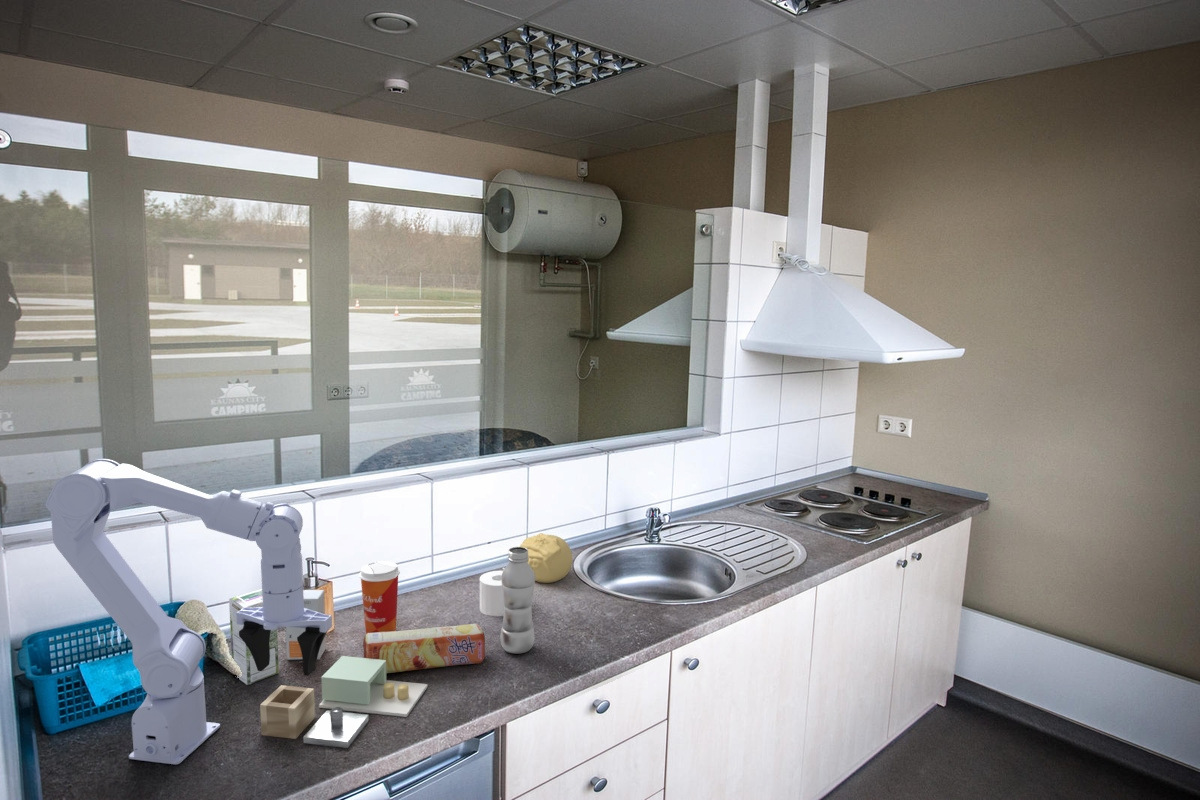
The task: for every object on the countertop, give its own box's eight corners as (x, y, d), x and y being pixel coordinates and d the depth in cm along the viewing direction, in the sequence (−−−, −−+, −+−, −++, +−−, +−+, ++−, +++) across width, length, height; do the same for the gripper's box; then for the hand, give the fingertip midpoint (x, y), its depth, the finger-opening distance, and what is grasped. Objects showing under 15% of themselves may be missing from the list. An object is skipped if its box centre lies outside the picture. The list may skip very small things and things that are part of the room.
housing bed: (406, 717, 115) (406, 703, 115) (319, 707, 117) (318, 694, 117) (427, 686, 124) (427, 674, 124) (345, 678, 126) (345, 666, 126)
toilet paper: (509, 592, 164) (509, 563, 163) (521, 613, 153) (521, 583, 152) (473, 597, 161) (473, 567, 160) (483, 618, 151) (483, 587, 150)
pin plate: (347, 748, 107) (346, 726, 107) (303, 742, 108) (302, 721, 108) (368, 720, 114) (368, 700, 114) (327, 716, 115) (326, 695, 115)
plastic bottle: (519, 638, 143) (520, 541, 140) (541, 650, 138) (543, 551, 135) (493, 648, 138) (493, 549, 135) (514, 662, 133) (515, 559, 130)
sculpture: (512, 578, 172) (512, 535, 170) (547, 564, 181) (548, 523, 180) (546, 592, 165) (546, 546, 163) (581, 577, 174) (582, 534, 172)
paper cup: (353, 634, 142) (351, 566, 140) (388, 621, 148) (386, 557, 146) (373, 648, 137) (372, 578, 135) (408, 634, 143) (407, 567, 141)
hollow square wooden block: (295, 738, 109) (294, 708, 108) (261, 734, 110) (260, 704, 109) (315, 717, 115) (314, 688, 114) (282, 714, 115) (281, 685, 115)
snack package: (480, 650, 137) (480, 616, 137) (486, 666, 131) (486, 631, 130) (363, 663, 131) (363, 628, 130) (363, 681, 124) (363, 644, 124)
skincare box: (286, 661, 132) (283, 599, 130) (293, 649, 136) (291, 589, 134) (320, 660, 132) (318, 598, 130) (326, 648, 136) (324, 589, 135)
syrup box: (264, 662, 131) (260, 587, 129) (280, 674, 127) (276, 596, 125) (232, 674, 127) (227, 597, 124) (247, 687, 123) (243, 607, 121)
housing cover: (368, 704, 117) (367, 681, 117) (322, 699, 118) (321, 677, 118) (386, 681, 124) (386, 660, 124) (342, 677, 125) (342, 655, 125)
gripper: (221, 593, 106) (226, 679, 108) (313, 601, 104) (316, 688, 106) (250, 575, 113) (254, 655, 115) (337, 582, 111) (340, 664, 113)
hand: (286, 670), depth 111 cm, fingers open, 7 cm apart
